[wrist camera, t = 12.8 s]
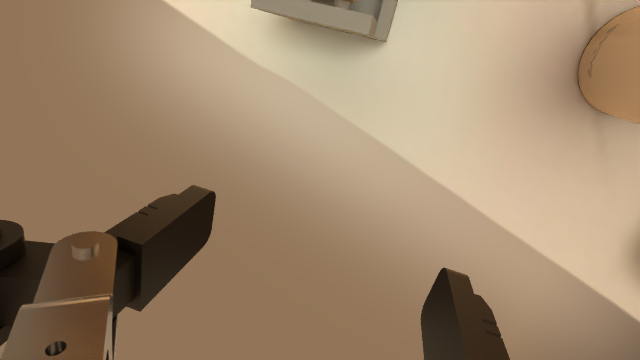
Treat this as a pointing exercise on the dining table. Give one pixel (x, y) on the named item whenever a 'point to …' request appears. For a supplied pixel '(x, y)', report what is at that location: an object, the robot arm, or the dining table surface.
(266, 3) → the grey rack
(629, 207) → the dining table surface
